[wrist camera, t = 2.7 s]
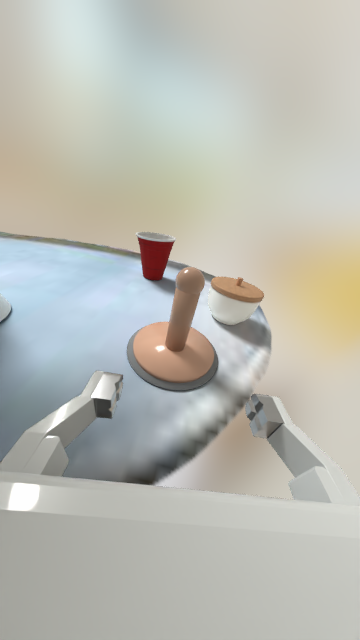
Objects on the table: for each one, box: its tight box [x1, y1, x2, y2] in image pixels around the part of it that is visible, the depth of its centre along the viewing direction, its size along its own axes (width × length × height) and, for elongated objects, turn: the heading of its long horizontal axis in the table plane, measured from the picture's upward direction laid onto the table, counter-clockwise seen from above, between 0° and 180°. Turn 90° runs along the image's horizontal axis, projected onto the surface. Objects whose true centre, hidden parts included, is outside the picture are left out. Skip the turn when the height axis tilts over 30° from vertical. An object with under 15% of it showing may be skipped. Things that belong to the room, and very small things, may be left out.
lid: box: [133, 267, 214, 383], centre depth 21 cm, size 12×12×12 cm
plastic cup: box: [136, 232, 176, 280], centre depth 47 cm, size 11×11×12 cm
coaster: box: [127, 326, 218, 390], centre depth 25 cm, size 14×14×1 cm
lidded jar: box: [208, 277, 264, 325], centre depth 35 cm, size 11×11×9 cm
